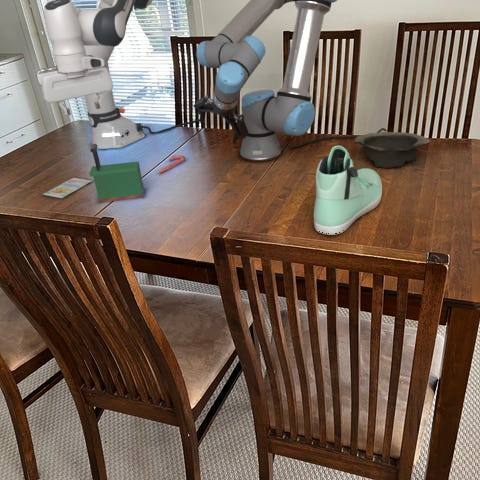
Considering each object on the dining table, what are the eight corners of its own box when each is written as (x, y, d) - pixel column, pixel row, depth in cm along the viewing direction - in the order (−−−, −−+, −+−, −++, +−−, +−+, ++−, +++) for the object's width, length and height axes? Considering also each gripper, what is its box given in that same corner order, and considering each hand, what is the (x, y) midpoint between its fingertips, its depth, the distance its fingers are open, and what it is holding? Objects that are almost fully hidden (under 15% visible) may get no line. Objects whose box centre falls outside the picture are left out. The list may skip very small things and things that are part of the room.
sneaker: (389, 187, 148) (396, 123, 138) (356, 242, 123) (361, 168, 112) (346, 181, 154) (350, 119, 144) (306, 232, 129) (307, 161, 118)
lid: (90, 176, 149) (83, 149, 145) (92, 169, 154) (86, 143, 150) (138, 171, 150) (132, 144, 146) (139, 164, 155) (134, 138, 151)
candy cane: (149, 171, 173) (148, 167, 172) (176, 156, 183) (176, 153, 182) (161, 174, 170) (160, 170, 169) (188, 159, 180) (188, 155, 179)
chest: (99, 202, 154) (93, 176, 149) (102, 194, 159) (95, 169, 154) (143, 197, 155) (138, 171, 150) (144, 189, 160) (139, 164, 155)
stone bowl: (388, 178, 153) (388, 150, 149) (339, 160, 173) (338, 135, 169) (444, 159, 162) (447, 132, 158) (392, 144, 182) (392, 120, 178)
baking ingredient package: (42, 193, 161) (73, 176, 172) (42, 194, 161) (73, 178, 173) (61, 197, 157) (92, 180, 169) (62, 198, 158) (92, 181, 169)
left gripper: (37, 71, 130) (51, 121, 137) (109, 58, 139) (119, 106, 146) (32, 68, 134) (45, 116, 142) (102, 56, 143) (111, 102, 150)
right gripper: (184, 87, 145) (182, 118, 166) (253, 131, 146) (243, 156, 166) (197, 69, 147) (194, 102, 168) (266, 112, 147) (254, 140, 168)
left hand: (83, 111), depth 144 cm, fingers open, 8 cm apart
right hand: (218, 129), depth 167 cm, fingers open, 13 cm apart
